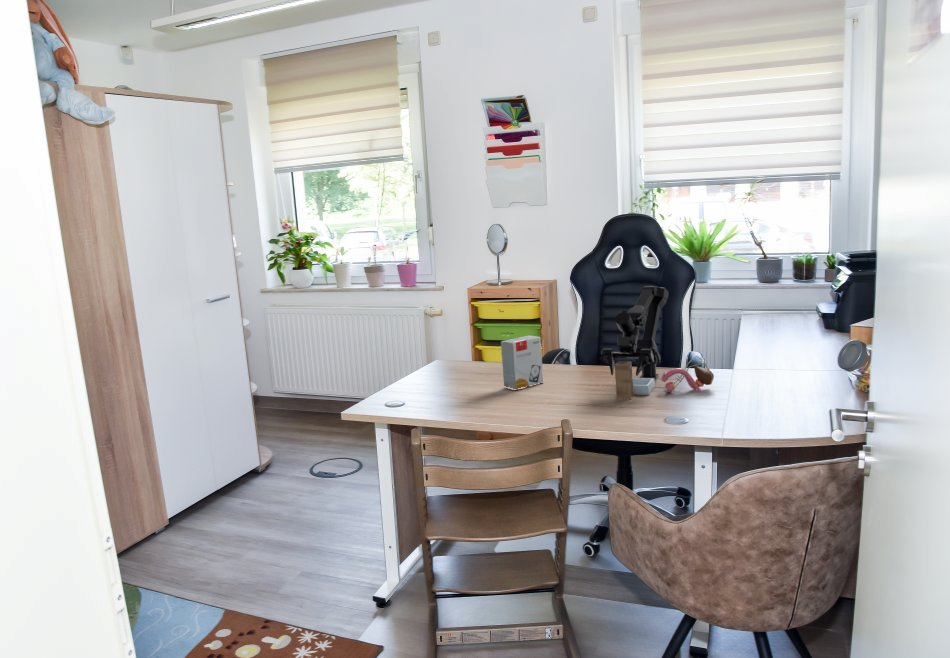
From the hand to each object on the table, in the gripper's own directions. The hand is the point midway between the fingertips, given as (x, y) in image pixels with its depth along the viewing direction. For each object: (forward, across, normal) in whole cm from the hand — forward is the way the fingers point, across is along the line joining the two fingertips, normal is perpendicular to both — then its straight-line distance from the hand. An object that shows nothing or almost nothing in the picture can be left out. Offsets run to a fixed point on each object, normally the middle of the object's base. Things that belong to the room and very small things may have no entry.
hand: (624, 374), depth 254 cm
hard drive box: (-1, -45, +13) cm, 47 cm away
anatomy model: (-2, +21, +14) cm, 25 cm away
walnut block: (+6, 0, +6) cm, 8 cm away
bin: (0, +2, +12) cm, 12 cm away
